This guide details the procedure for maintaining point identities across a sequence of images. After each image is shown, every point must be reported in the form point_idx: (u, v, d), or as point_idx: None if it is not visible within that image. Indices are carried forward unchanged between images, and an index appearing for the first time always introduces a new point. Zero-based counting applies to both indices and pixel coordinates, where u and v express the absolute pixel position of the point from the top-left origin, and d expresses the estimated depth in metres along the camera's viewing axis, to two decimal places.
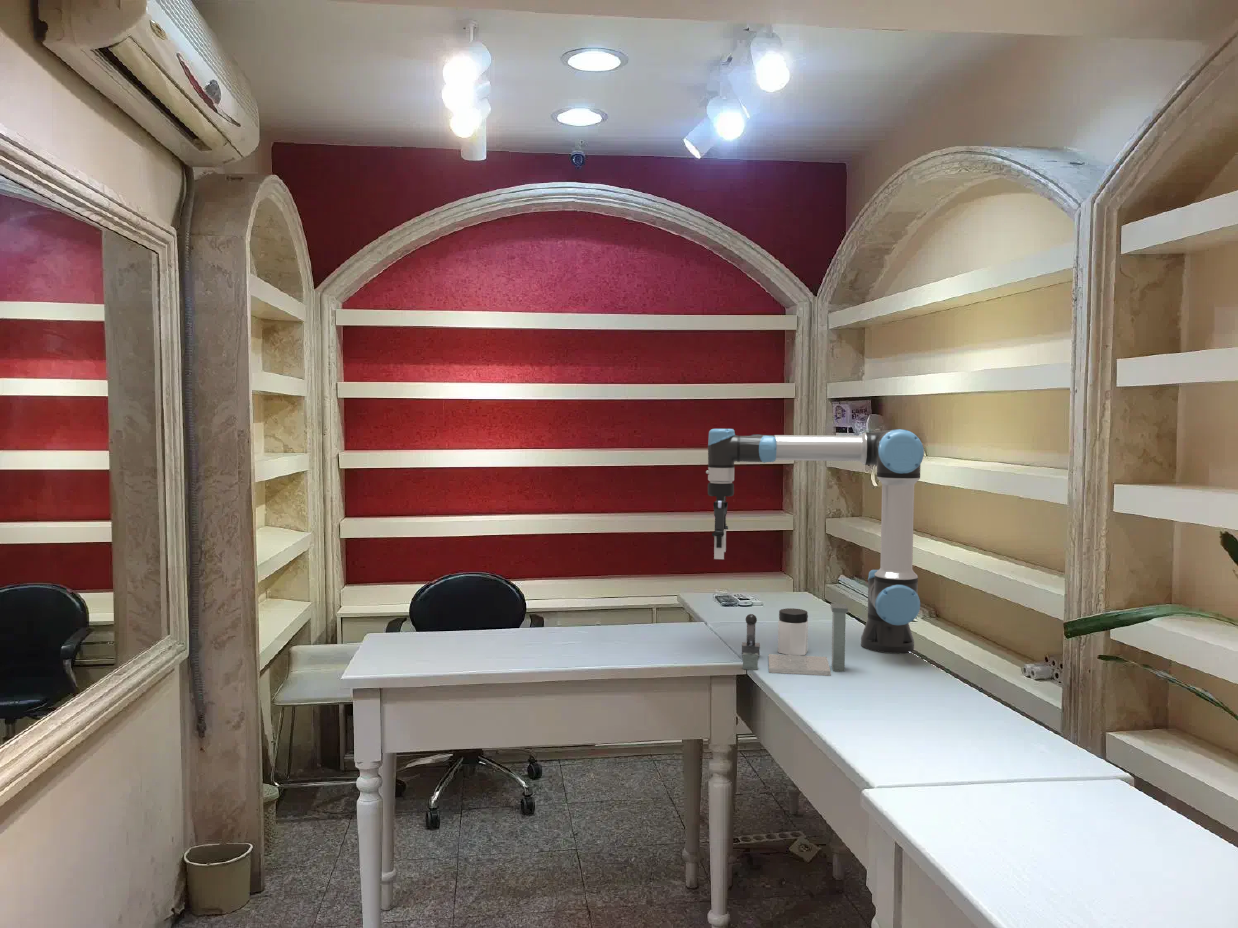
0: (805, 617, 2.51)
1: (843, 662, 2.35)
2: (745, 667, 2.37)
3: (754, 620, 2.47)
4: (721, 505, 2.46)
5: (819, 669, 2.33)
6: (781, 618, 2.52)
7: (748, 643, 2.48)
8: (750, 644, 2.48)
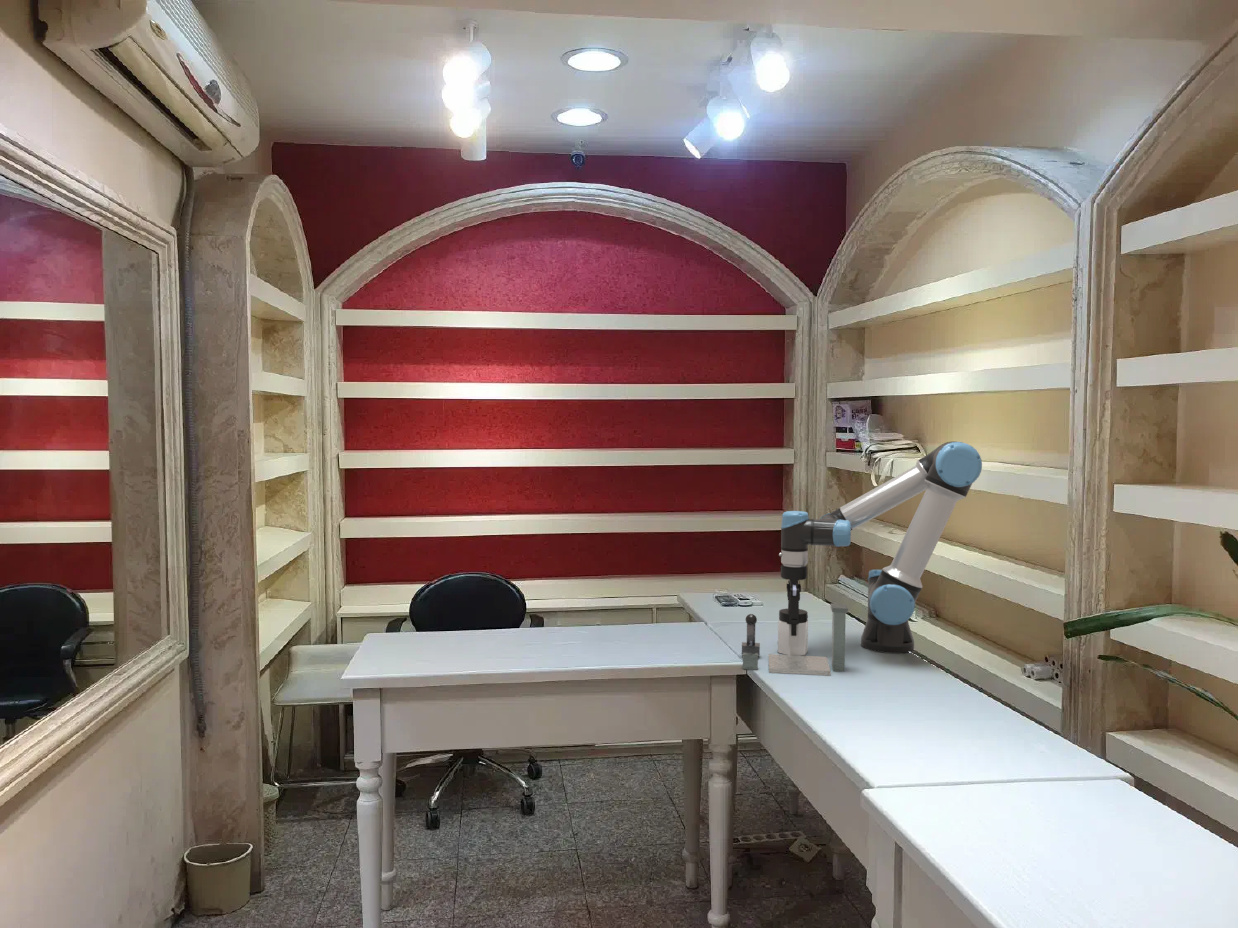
0: (805, 617, 2.51)
1: (843, 662, 2.35)
2: (745, 667, 2.37)
3: (754, 620, 2.47)
4: (796, 593, 2.47)
5: (819, 669, 2.33)
6: (781, 618, 2.52)
7: (748, 643, 2.48)
8: (750, 644, 2.48)
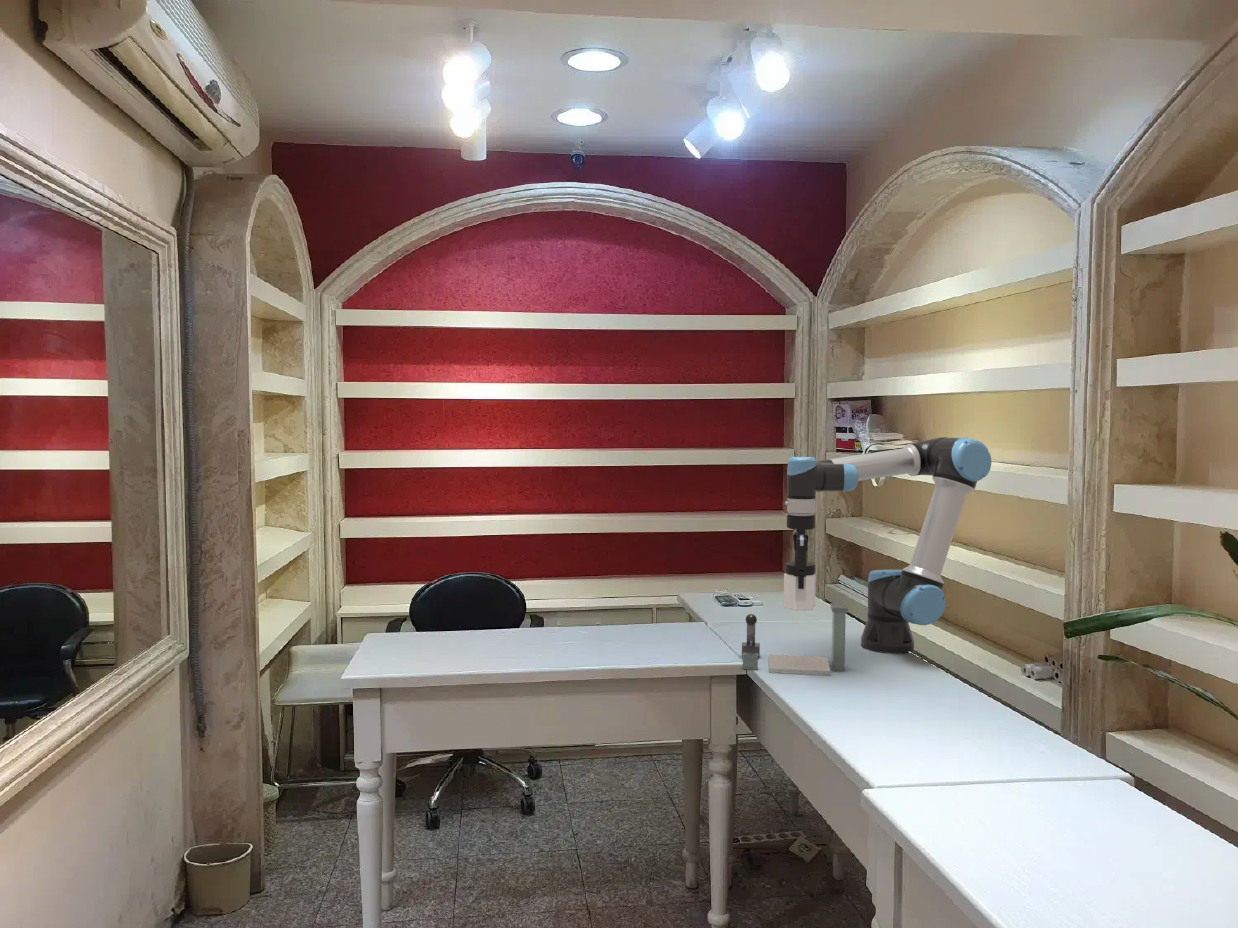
0: (813, 569, 2.35)
1: (843, 662, 2.35)
2: (745, 667, 2.37)
3: (754, 620, 2.47)
4: (803, 543, 2.31)
5: (819, 669, 2.33)
6: (787, 571, 2.36)
7: (748, 643, 2.48)
8: (750, 644, 2.48)
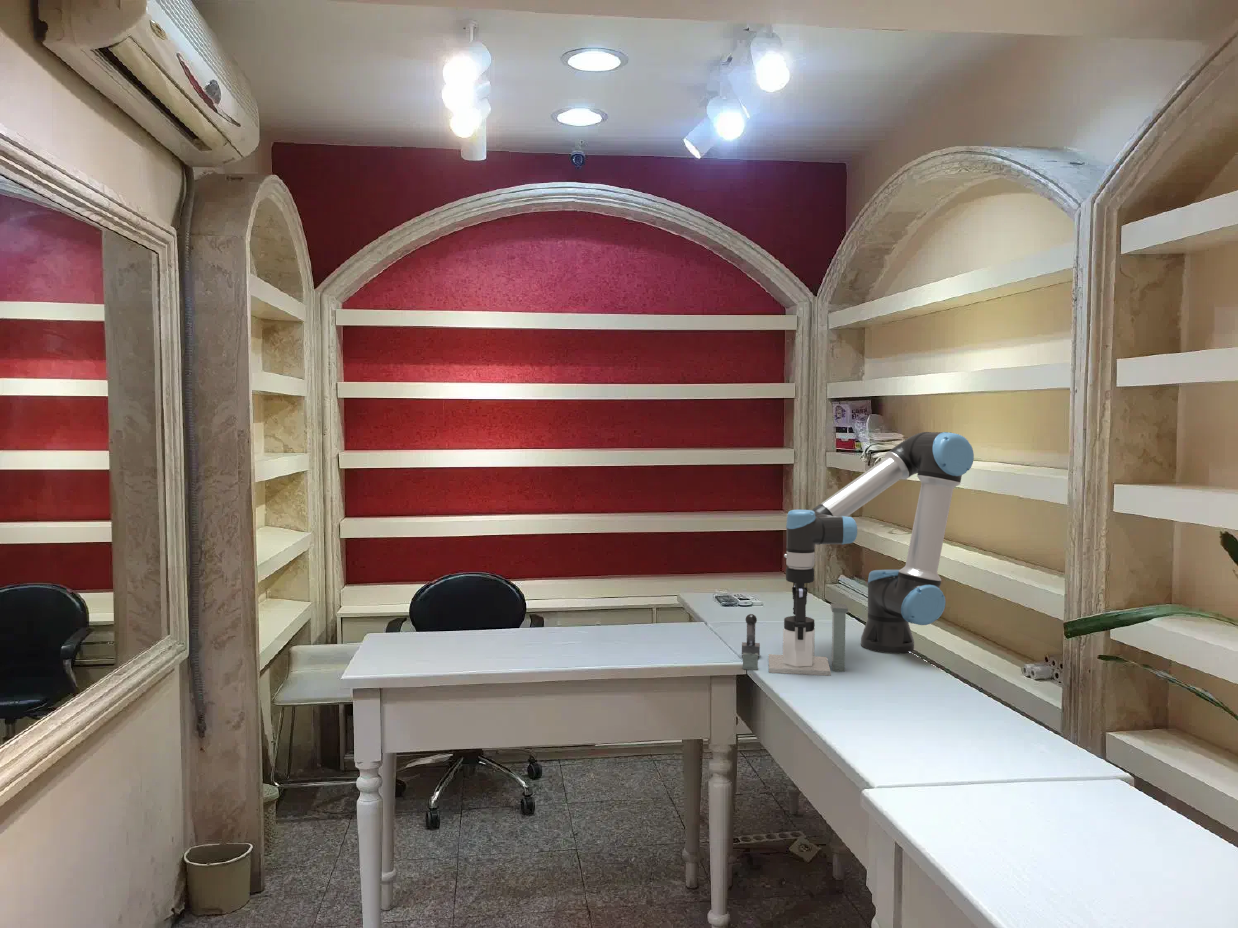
0: (812, 625, 2.36)
1: (843, 662, 2.35)
2: (745, 667, 2.37)
3: (754, 620, 2.47)
4: (802, 594, 2.31)
5: (819, 669, 2.33)
6: (786, 626, 2.37)
7: (748, 643, 2.48)
8: (750, 644, 2.48)
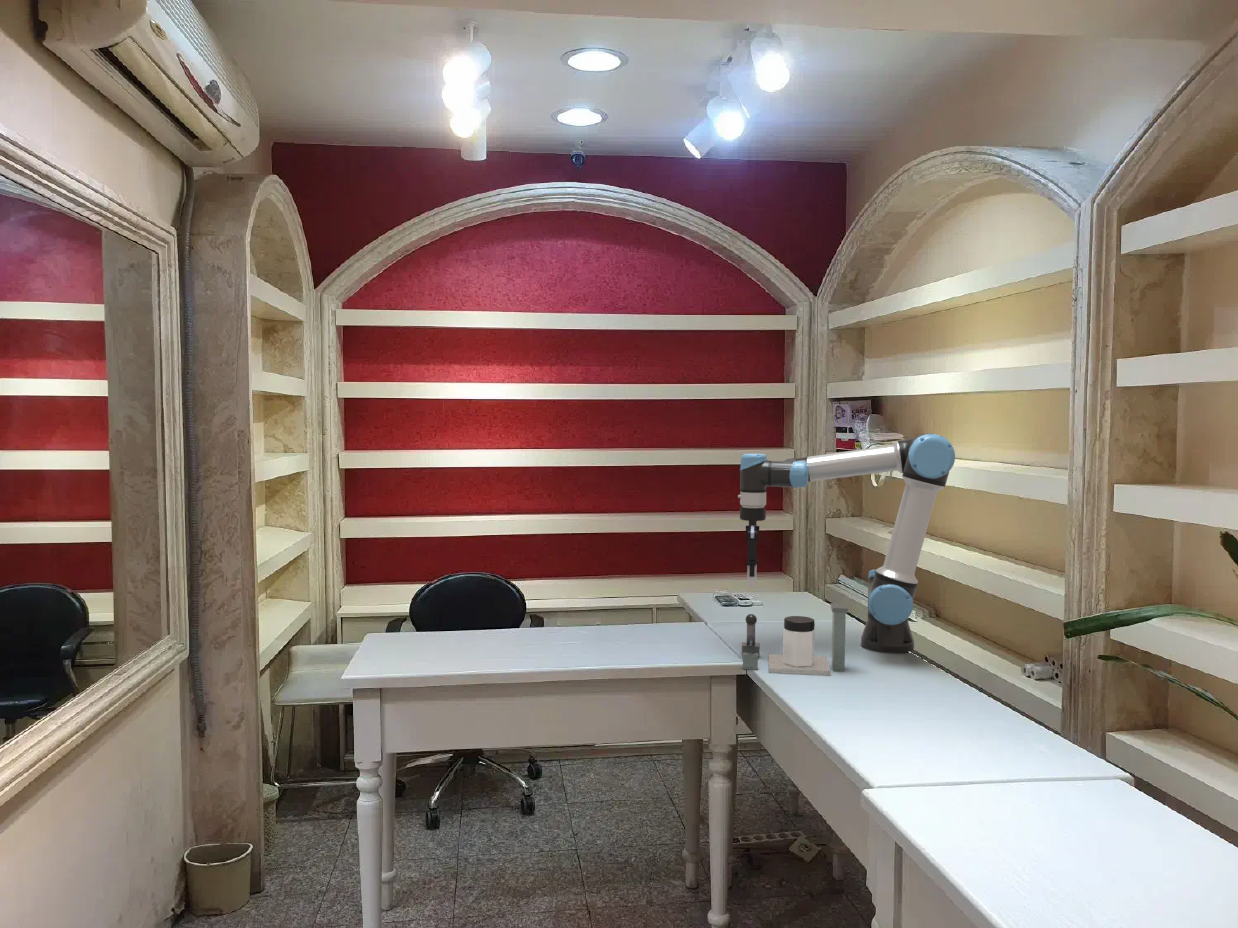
0: (812, 625, 2.36)
1: (843, 662, 2.35)
2: (745, 667, 2.37)
3: (754, 620, 2.47)
4: (754, 536, 2.50)
5: (819, 669, 2.33)
6: (786, 626, 2.37)
7: (748, 643, 2.48)
8: (750, 644, 2.48)
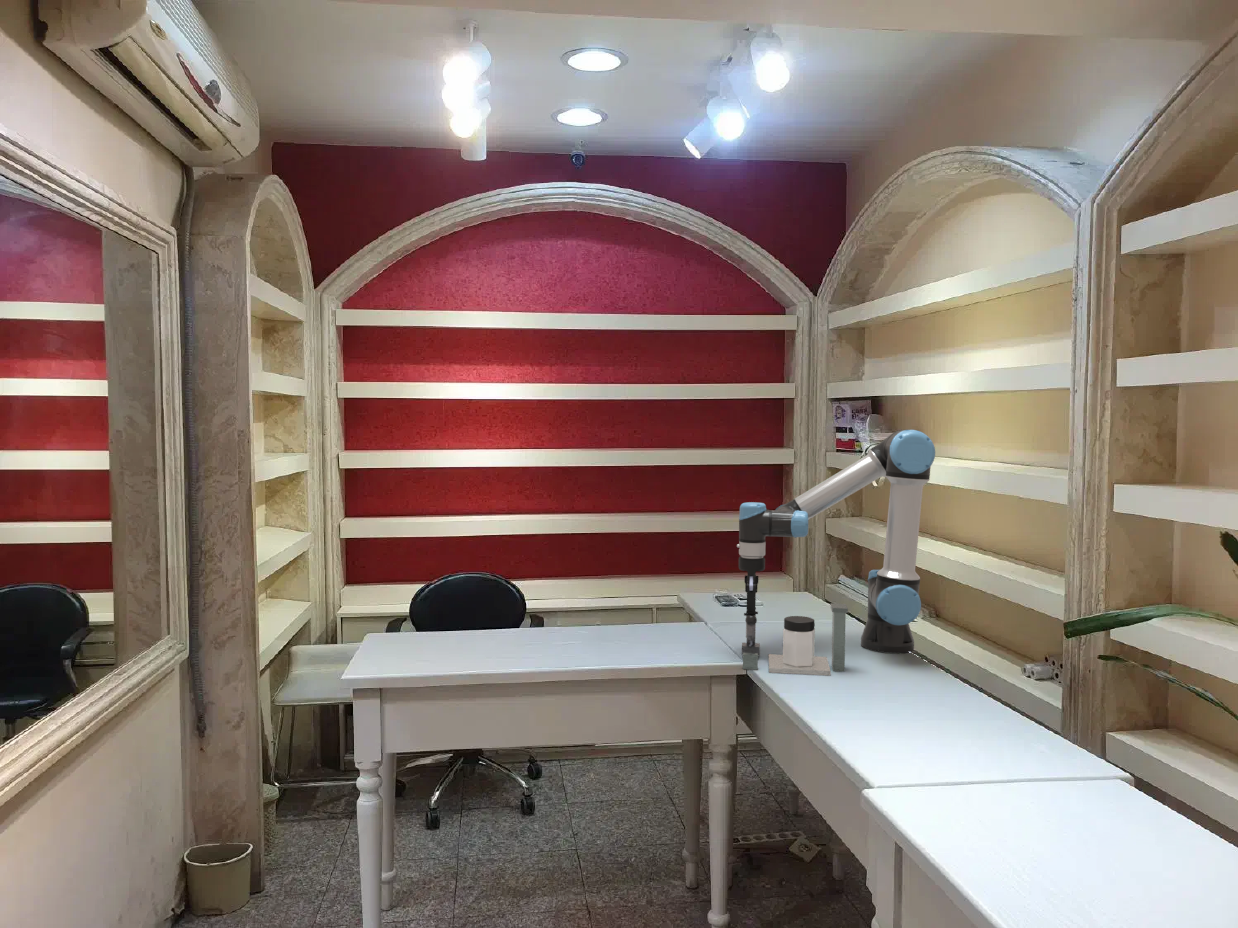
0: (812, 625, 2.36)
1: (843, 662, 2.35)
2: (745, 667, 2.37)
3: (754, 620, 2.47)
4: (752, 589, 2.47)
5: (819, 669, 2.33)
6: (786, 626, 2.37)
7: (748, 643, 2.48)
8: (750, 644, 2.47)
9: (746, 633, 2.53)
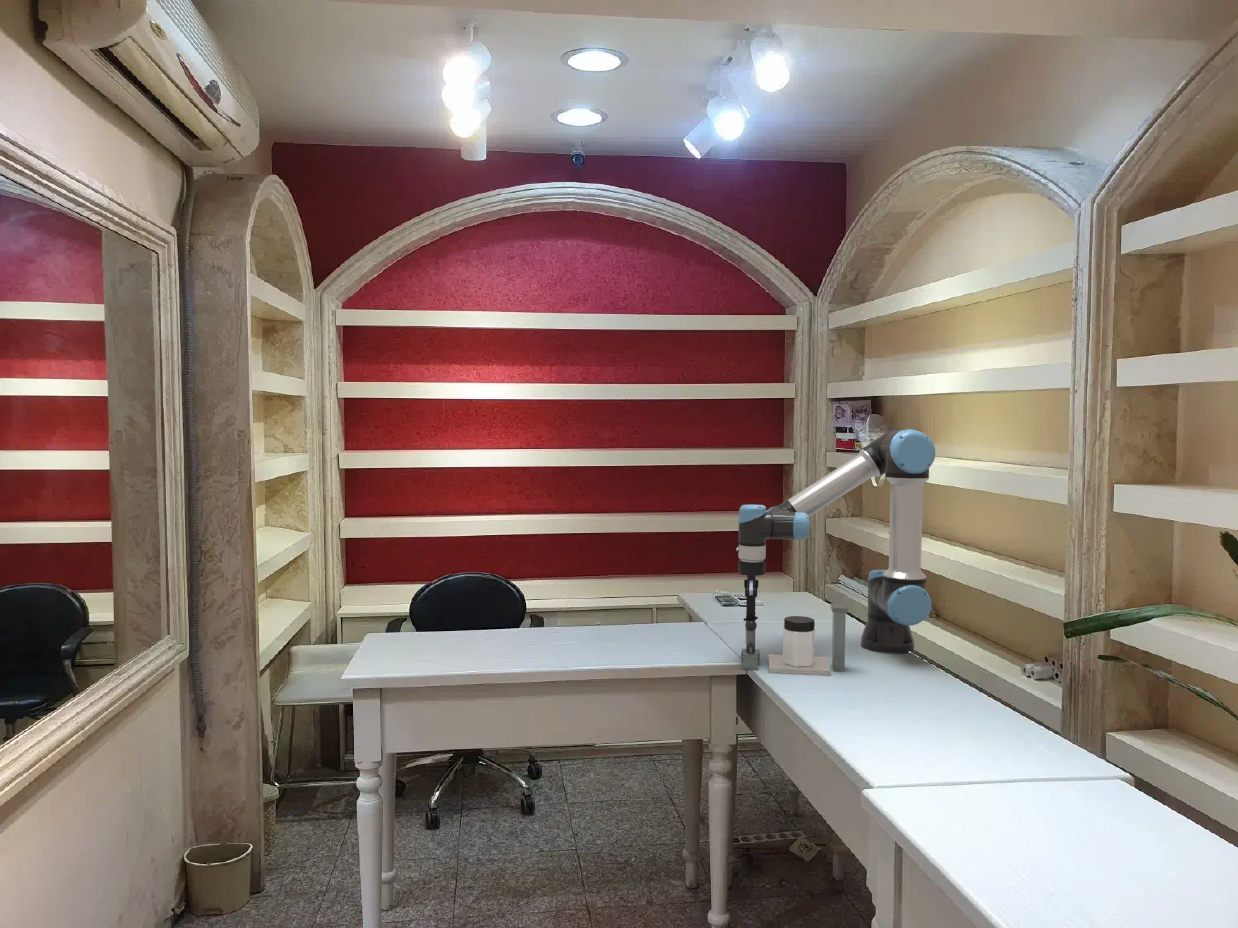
0: (812, 625, 2.36)
1: (843, 662, 2.35)
2: (745, 667, 2.37)
3: (754, 626, 2.40)
4: (752, 593, 2.40)
5: (819, 669, 2.33)
6: (786, 626, 2.37)
7: (748, 649, 2.41)
8: (750, 650, 2.41)
9: None
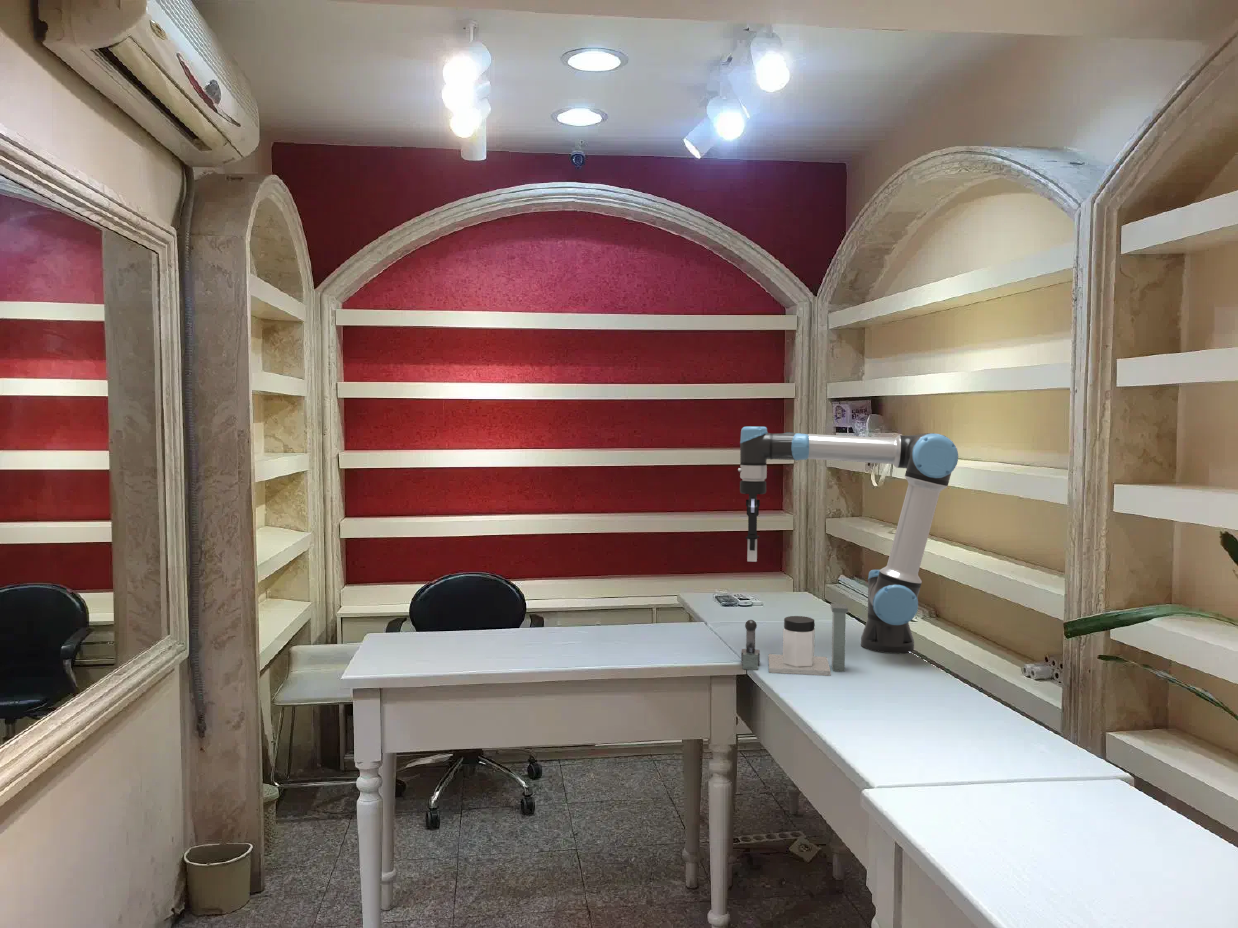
0: (812, 625, 2.36)
1: (843, 662, 2.35)
2: (745, 667, 2.37)
3: (754, 626, 2.40)
4: (754, 511, 2.47)
5: (819, 669, 2.33)
6: (786, 626, 2.37)
7: (748, 650, 2.41)
8: (750, 651, 2.41)
9: (747, 557, 2.53)
